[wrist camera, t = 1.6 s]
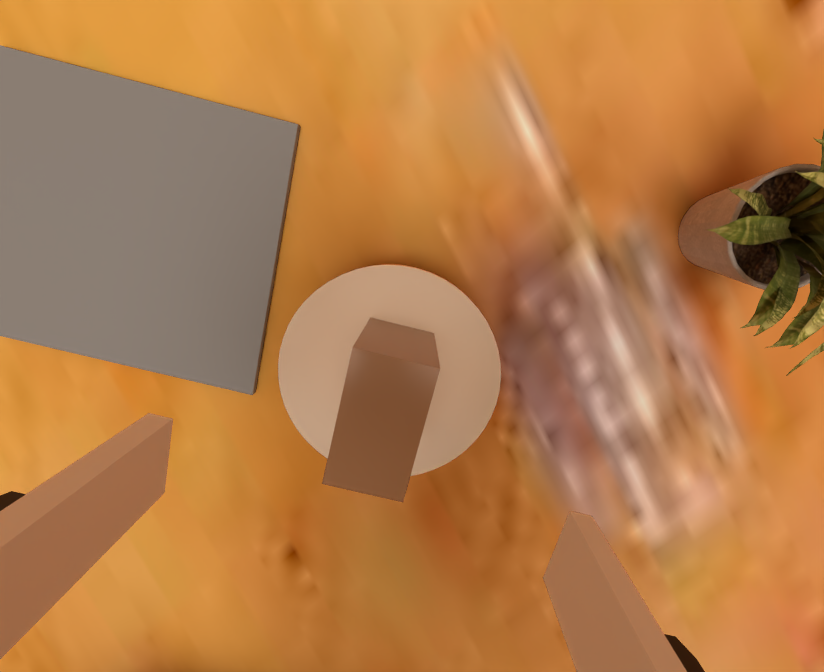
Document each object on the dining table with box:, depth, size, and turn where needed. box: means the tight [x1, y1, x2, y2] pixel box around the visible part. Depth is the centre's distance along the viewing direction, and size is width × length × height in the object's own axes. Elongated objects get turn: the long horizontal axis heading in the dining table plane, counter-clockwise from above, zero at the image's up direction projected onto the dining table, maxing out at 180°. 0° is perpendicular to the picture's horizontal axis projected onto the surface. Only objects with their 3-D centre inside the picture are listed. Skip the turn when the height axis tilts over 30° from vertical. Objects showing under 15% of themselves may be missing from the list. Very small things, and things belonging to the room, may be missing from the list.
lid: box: [278, 264, 501, 502], centre depth 23 cm, size 14×14×8 cm
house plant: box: [678, 131, 824, 376], centre depth 21 cm, size 14×14×16 cm
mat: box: [0, 46, 300, 395], centre depth 30 cm, size 20×20×1 cm
